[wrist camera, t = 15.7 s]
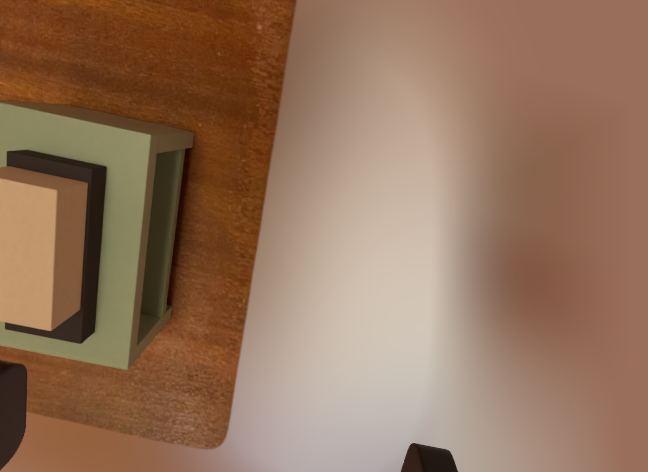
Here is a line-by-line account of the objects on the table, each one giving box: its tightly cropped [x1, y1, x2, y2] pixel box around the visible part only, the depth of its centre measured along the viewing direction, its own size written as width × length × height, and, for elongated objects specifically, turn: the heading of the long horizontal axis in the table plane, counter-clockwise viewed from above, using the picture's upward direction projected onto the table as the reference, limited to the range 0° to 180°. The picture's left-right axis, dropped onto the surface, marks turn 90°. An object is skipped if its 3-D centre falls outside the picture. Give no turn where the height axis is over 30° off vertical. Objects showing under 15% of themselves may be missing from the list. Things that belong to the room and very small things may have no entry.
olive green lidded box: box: [0, 100, 194, 370], centre depth 38 cm, size 20×12×10 cm, turn 168°
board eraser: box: [0, 150, 107, 344], centre depth 30 cm, size 14×6×6 cm, turn 168°
